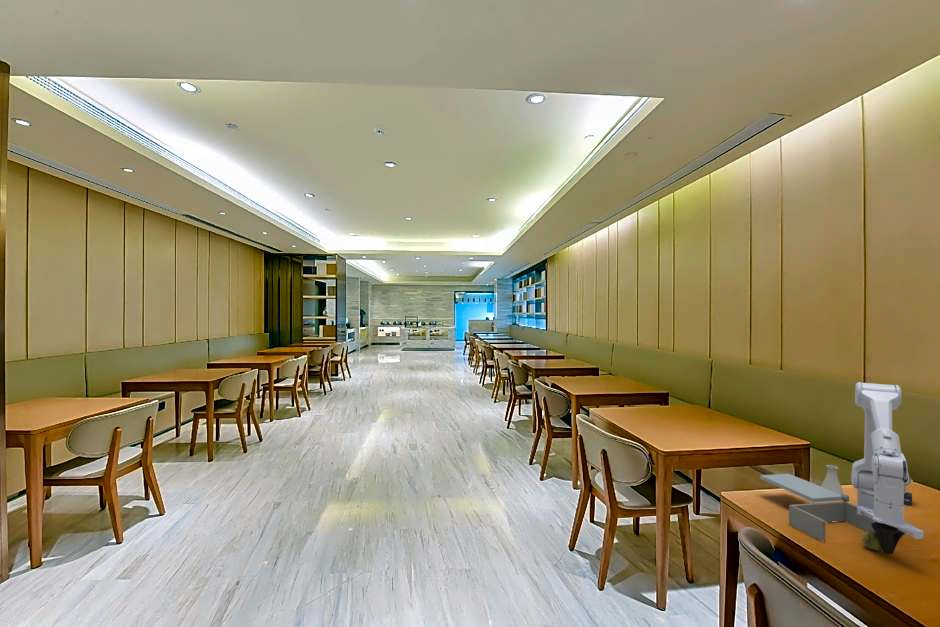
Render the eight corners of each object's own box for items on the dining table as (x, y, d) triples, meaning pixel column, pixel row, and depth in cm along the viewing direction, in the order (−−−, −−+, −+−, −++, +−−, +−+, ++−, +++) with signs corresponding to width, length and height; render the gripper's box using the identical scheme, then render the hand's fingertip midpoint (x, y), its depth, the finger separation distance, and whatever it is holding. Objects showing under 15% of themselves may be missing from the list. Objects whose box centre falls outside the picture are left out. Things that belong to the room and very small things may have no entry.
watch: (889, 502, 153) (889, 470, 153) (890, 496, 159) (890, 465, 159) (912, 507, 149) (912, 474, 149) (912, 501, 155) (912, 469, 155)
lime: (859, 544, 124) (859, 526, 124) (882, 548, 122) (882, 530, 122) (865, 552, 120) (865, 533, 120) (889, 556, 118) (889, 537, 118)
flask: (849, 499, 155) (850, 470, 156) (826, 497, 157) (826, 468, 157) (837, 491, 163) (837, 463, 163) (814, 489, 164) (815, 462, 164)
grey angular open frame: (844, 520, 139) (844, 501, 139) (882, 537, 128) (882, 516, 128) (789, 524, 136) (789, 504, 136) (822, 542, 125) (823, 521, 125)
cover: (850, 501, 138) (850, 496, 138) (816, 503, 136) (816, 499, 136) (791, 476, 159) (791, 473, 159) (760, 478, 157) (760, 474, 157)
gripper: (848, 491, 124) (847, 540, 124) (907, 514, 110) (906, 569, 110) (869, 490, 125) (868, 538, 125) (930, 512, 111) (930, 567, 111)
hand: (888, 553), depth 118 cm, fingers closed
